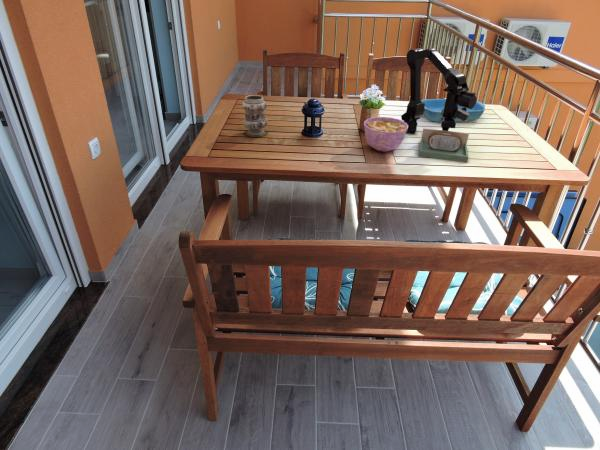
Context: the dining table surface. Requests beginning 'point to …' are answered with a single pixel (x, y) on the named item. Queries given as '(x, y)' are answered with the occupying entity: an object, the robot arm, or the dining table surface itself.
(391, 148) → the bowl of food
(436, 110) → the casserole dish
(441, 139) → the tin
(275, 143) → the dining table surface
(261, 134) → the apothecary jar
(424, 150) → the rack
